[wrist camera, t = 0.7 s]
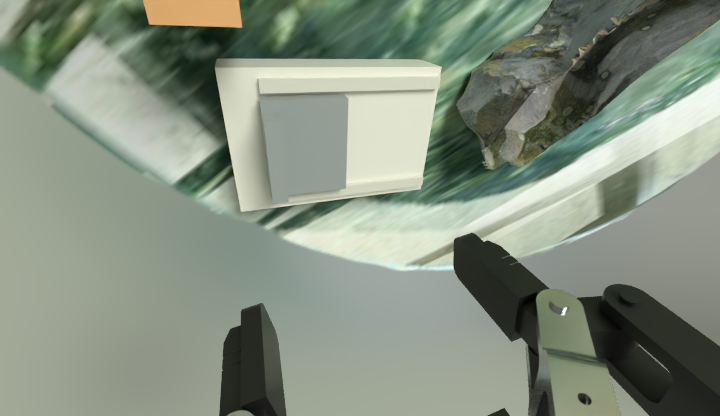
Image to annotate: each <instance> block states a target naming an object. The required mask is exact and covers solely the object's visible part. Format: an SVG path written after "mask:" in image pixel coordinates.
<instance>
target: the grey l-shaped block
mask: <svg viewBox="0 0 720 416" xmlns="http://www.w3.org/2000/svg"><path fill="white" fill-rule="evenodd" d="M259 102H260V111H261V119H262V128H263V136H264V145H265V153H266V161H267V170H268V178H269V187H270V193H271V197H272V201H273V204H278V203H286V202H289V199H288V195H297V194H305V193H314V192H322V191H331V190H339V189H346V168H347V133H348V98H347V97H346V96H345V95H317V96H283V97H259Z"/></svg>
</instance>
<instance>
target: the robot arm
mask: <svg viewBox="0 0 720 416" xmlns="http://www.w3.org/2000/svg"><path fill="white" fill-rule="evenodd" d="M454 270H455V273H456V275H457V277H458V278H459V280H460V281H461V282H462V283H463V285H464V286H465V287H466V288H467V289H468V291H469V292H470V293H471V294H472V295H473V296H474V298H475V299H476V300H477V301H478V302H479V303H480V305H481V306H482V307H483V308H484V309H485V311H486V312H487V313H488V314H489V315H490V317H491V318H492V319H493V320H494V321H495V323H496V324H497V325H498V326H499V327H500V328H501V330H502V331H503V332H504V333H505V335H506V336H507V337H508V338H509V339H510V340H511V341H514V340H517V339H519V338H522V339H523V340H524V341H525V342H526V360H527V373H528V386H529V408H528V416H621V413H620V410H619V406H618V402H617V398H616V395H615V391H614V388H613V384H612V381H611V377H610V375H611V376H612V377H613V378H614V379H615V380H616V381H617V382H618V384H619V385H620V386H622V388H623V389H624V390H625V391H626V392H627V393H628V394H629V395H630V396H631V397H632V398H633V399H634V400H635V401H636V402H637V403H638V404H639V405H640V406H641V407H642V408H643V409H644V410H645V412H646V413H648V415H649V416H720V346H718V345H717V344H716V343H714V342H713V341H712V340H710V339H709V338H707V337H706V336H705V335H703V334H702V333H701V332H699V331H698V330H696V329H695V328H694V327H692V326H691V325H689V324H688V323H687V322H685V321H684V320H682V319H681V318H680V317H678V316H677V315H676V314H674V313H673V312H672V311H670V310H669V309H667V308H666V307H664V306H663V305H662V304H660V303H659V302H658V301H656V300H655V299H654V298H652V297H651V296H649V295H648V294H647V293H645V292H644V291H642V290H640V289H638V288H635V287H632V286H628V285H622V284H614V285H610V286H608V287H607V288H606V289H605V291H604V293H603V296H597V297H582V298H576V297H575V296H573V295H572V294H570V293H568V292H565V291H563V290H558V289H550V288H548V287H547V286H546V285H545V284H544V283H542V282H541V281H540V280H539V279H538V278H537V277H535V276H534V275H533V274H532V273H531V272H530V271H529V270H527V269H526V268H525V267H524V266H523V265H522V264H521V263H518V261H517V260H516V259H515V258H514V257H512V256H510V254H509V253H508V252H507V251H506V250H504V249H503V248H502V247H501V246H499V245H497V244H495V243H492V242H490V241H485V242H483V241H482V240H481V239H480V238H479V237H478V236H477V235H475V234H474V233H470V234H467V235H464V236H461V237H458V238H455V240H454ZM639 344H640V345H641V346H642V347H643V348H644V349H645V350H647V351H648V352H649V353H650V354H651V355H652V356H653V357H655V358H656V359H657V360H658V361H659V362H660V363H661V364H663V365H664V366H665V367H666V368H667V369H668V371H669V372H670V373H669V372H668V371H667V370H666V369H664V368H663V367H662V366H661V365H660V364H659V363H658V362H656V361H655V360H654V359H653V358H652V357H651V356H650V355H648V354H647V353H646V352H645V351H644V350H643V349H642V348H641V347H639V346H638V345H639ZM222 369H223V371H222V382H221V398H220V414H219V416H286V408H285V398H284V390H283V381H282V372H281V363H280V353H279V344H278V339H277V335H276V332H275V329H274V327H273V324H272V322H271V320H270V318H269V316H268V313H267V311H266V309H265V307H264V305H263V304H262V303H260V304H257V305H254V306H251V307H249V308H245V309H242V311H241V325H240V326H237V327H235V328H232V329H230V331H229V333H228V335H227V337H226V339H225V342H224V349H223V366H222ZM488 416H509V414H508V413H507V411H506V410H505V408H503V409H501V410H499V411H497V412H495V413H492V414H490V415H488Z"/></svg>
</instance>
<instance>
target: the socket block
mask: <svg viewBox="0 0 720 416" xmlns="http://www.w3.org/2000/svg"><path fill="white" fill-rule="evenodd" d="M215 72H216V78H217V83H218V89H219V94H220V100H221V105H222V111H223V116H224V122H225V127H226V133H227V138H228V144H229V149H230V155H231V160H232V166H233V171H234V177H235V182H236V188H237V193H238V199H239V204H240V210H241V212H244V211H252V210H260V209H268V208H276V207H284V206H291V205H299V204H307V203H315V202H323V201H331V200H339V199H347V198H354V197H362V196H370V195H378V194H386V193H394V192H402V191H410V190H417V189H420V188H421V186H422V182H423V171H424V165H425V160H426V154H427V148H428V142H429V136H430V131H431V125H432V119H433V113H434V108H435V102H436V96H437V90H438V89H439V85H440V80H441V77H440V73H441V67H440V66H437V65H434V64H432V63H429V62H426V61H423V60H414V59H217V60H216V64H215ZM317 95H345V96H346V97H347V98H348V133H347V168H346V189H339V190H331V191H322V192H314V193H305V194H297V195H288V199H289V202H286V203H278V204H273V201H272V197H271V193H270V187H269V178H268V170H267V161H266V153H265V145H264V136H263V128H262V119H261V111H260V102H259V97H283V96H317Z"/></svg>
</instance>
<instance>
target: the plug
mask: <svg viewBox="0 0 720 416" xmlns="http://www.w3.org/2000/svg"><path fill="white" fill-rule="evenodd" d="M143 2H144V6H145V10H146V14H147V17H148V21H149V25H178V26H210V27H242V22H241V15H240V7H239V0H143Z"/></svg>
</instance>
